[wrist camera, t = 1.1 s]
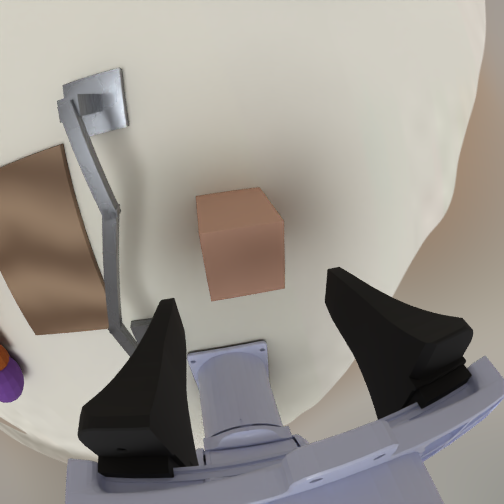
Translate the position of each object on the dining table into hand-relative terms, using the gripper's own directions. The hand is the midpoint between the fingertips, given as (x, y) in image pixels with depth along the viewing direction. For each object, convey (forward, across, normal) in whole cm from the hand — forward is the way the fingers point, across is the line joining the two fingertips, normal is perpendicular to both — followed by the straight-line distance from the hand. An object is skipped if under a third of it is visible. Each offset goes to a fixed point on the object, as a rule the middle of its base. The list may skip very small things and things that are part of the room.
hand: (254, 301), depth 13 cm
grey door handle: (+9, +8, 0) cm, 12 cm away
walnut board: (+9, +16, 0) cm, 18 cm away
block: (+10, 0, 0) cm, 10 cm away
